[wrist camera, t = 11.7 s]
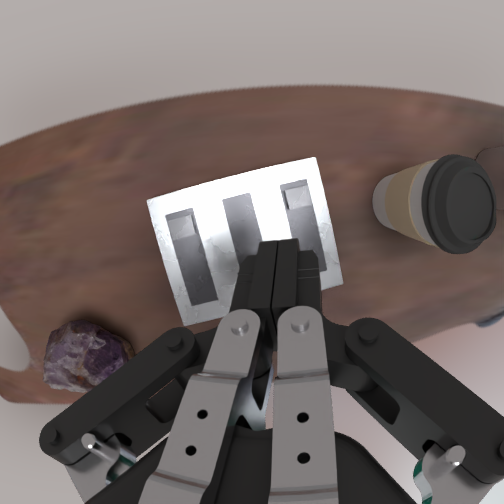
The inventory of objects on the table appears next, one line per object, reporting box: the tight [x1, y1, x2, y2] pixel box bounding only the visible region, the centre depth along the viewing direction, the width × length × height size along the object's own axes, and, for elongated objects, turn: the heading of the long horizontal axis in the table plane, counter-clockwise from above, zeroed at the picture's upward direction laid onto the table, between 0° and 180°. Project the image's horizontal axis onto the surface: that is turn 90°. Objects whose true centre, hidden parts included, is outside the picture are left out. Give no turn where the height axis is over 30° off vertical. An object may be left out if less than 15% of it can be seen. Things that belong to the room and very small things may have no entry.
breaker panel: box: [147, 157, 343, 326], centre depth 34 cm, size 18×14×4 cm
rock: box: [43, 320, 135, 392], centre depth 33 cm, size 12×9×10 cm
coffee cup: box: [372, 155, 496, 254], centre depth 29 cm, size 9×9×15 cm
